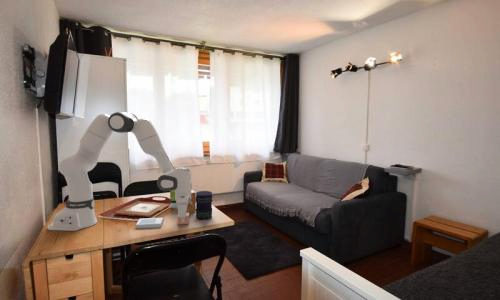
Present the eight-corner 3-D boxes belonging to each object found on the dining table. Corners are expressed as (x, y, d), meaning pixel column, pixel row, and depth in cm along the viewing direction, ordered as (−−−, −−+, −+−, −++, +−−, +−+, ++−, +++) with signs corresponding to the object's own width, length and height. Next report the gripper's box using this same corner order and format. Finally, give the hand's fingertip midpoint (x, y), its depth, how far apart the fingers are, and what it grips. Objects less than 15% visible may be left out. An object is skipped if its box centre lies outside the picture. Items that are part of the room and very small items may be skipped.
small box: (183, 214, 167) (183, 193, 166) (180, 211, 172) (179, 191, 171) (195, 212, 171) (195, 192, 170) (192, 209, 177) (192, 189, 175)
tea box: (178, 201, 193) (178, 181, 191) (192, 202, 191) (192, 181, 190) (169, 208, 178) (169, 186, 176) (184, 209, 177) (184, 187, 175)
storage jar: (197, 221, 156) (197, 196, 155) (194, 215, 165) (194, 191, 164) (214, 219, 160) (214, 194, 158) (210, 213, 169) (210, 190, 167)
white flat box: (135, 228, 144) (135, 224, 144) (139, 221, 153) (139, 218, 153) (161, 227, 147) (161, 223, 146) (163, 220, 155) (163, 217, 155)
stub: (177, 224, 150) (177, 215, 149) (178, 221, 155) (178, 212, 154) (188, 223, 151) (188, 215, 150) (189, 220, 156) (189, 212, 155)
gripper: (179, 191, 161) (179, 213, 162) (175, 201, 141) (176, 226, 142) (189, 190, 162) (190, 213, 163) (188, 201, 142) (188, 226, 143)
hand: (183, 219), depth 153 cm, fingers open, 6 cm apart
